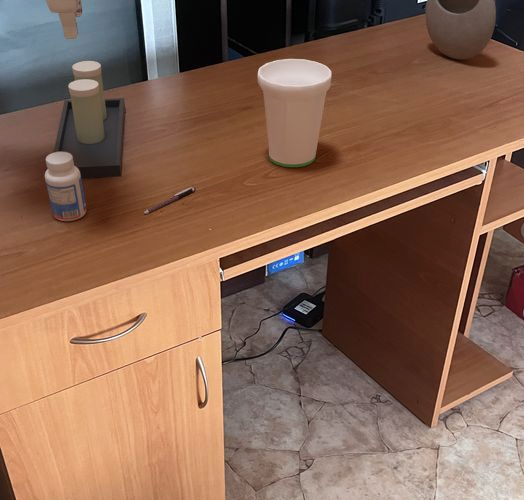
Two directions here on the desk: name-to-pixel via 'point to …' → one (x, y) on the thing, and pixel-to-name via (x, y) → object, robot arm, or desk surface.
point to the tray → (98, 154)
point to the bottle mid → (87, 111)
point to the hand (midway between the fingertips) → (74, 26)
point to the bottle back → (91, 78)
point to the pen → (170, 200)
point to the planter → (460, 26)
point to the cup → (293, 108)
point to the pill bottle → (64, 187)
